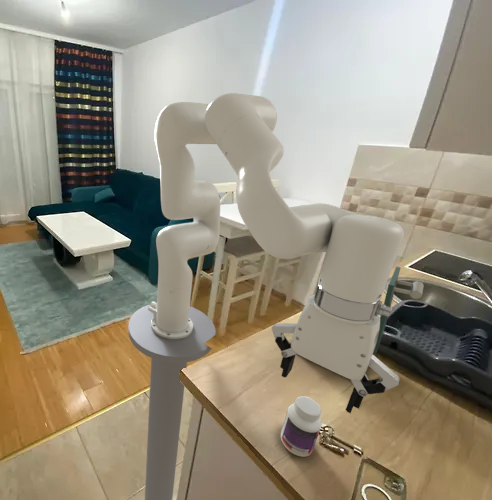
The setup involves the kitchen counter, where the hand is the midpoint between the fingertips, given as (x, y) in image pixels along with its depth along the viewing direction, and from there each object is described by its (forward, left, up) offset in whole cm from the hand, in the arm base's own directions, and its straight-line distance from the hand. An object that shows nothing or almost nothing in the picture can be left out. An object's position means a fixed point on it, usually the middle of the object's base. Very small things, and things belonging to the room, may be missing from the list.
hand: (316, 388), depth 48 cm
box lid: (+4, +32, +4) cm, 33 cm away
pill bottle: (0, 0, -14) cm, 14 cm away
